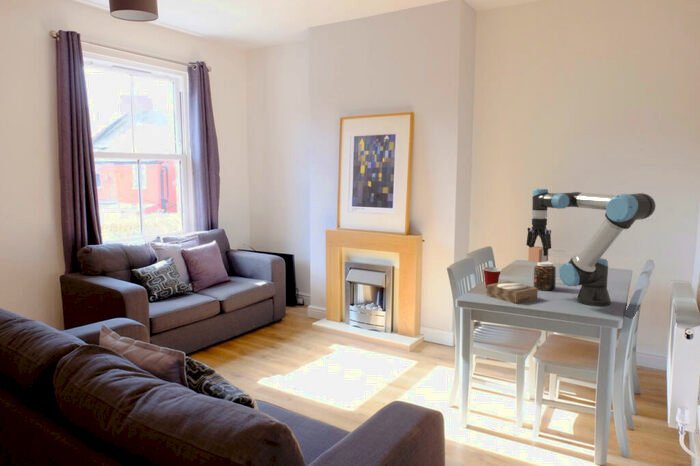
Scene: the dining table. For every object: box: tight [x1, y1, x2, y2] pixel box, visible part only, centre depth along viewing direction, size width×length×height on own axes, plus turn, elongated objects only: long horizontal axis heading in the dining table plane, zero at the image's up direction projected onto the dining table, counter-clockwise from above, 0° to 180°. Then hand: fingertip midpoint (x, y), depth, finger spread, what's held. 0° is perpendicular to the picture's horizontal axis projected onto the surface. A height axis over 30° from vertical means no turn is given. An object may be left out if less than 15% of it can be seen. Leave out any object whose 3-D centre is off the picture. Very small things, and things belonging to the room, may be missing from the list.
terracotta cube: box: [527, 246, 549, 263], centre depth 263 cm, size 7×7×7 cm
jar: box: [533, 261, 557, 292], centre depth 279 cm, size 12×12×15 cm
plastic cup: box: [482, 266, 503, 290], centre depth 282 cm, size 11×11×12 cm
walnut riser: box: [486, 280, 538, 305], centre depth 262 cm, size 20×16×6 cm
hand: (538, 260), depth 263 cm, fingers closed on terracotta cube, 7 cm apart
